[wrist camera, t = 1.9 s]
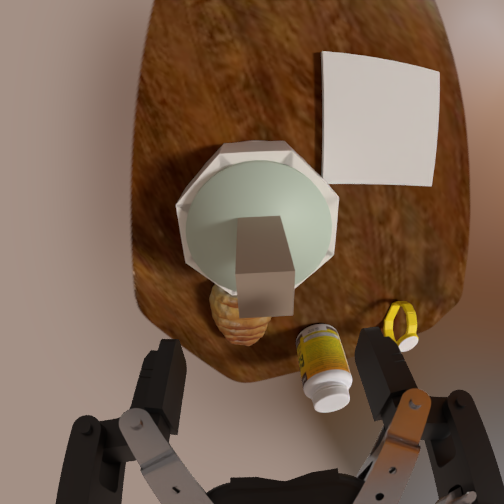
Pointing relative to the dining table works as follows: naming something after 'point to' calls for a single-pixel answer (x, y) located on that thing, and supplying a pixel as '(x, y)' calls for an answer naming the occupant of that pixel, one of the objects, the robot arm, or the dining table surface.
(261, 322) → the pastry
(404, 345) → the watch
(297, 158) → the bowl
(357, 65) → the mat
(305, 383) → the supplement bottle
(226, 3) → the dining table surface
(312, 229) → the lid
